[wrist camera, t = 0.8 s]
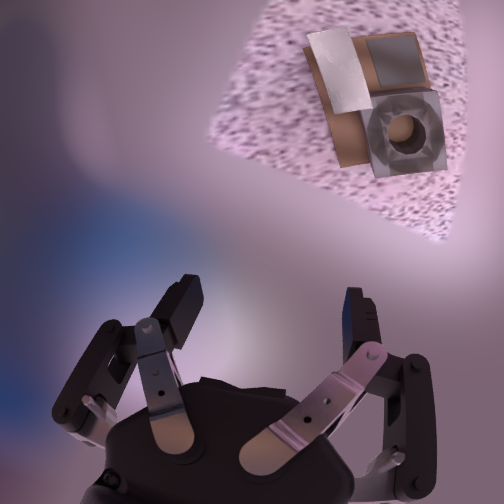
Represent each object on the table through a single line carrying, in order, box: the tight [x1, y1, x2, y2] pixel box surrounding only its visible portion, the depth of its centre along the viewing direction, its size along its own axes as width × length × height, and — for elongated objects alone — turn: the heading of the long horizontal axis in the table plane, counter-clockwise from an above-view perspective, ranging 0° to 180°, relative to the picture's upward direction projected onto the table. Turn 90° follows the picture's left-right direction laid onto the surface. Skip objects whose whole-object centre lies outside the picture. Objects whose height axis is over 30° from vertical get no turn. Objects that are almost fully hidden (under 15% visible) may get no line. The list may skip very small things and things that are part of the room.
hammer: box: [306, 27, 373, 114], centre depth 20 cm, size 7×3×11 cm, turn 21°
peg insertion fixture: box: [303, 32, 447, 178], centre depth 24 cm, size 16×14×7 cm
